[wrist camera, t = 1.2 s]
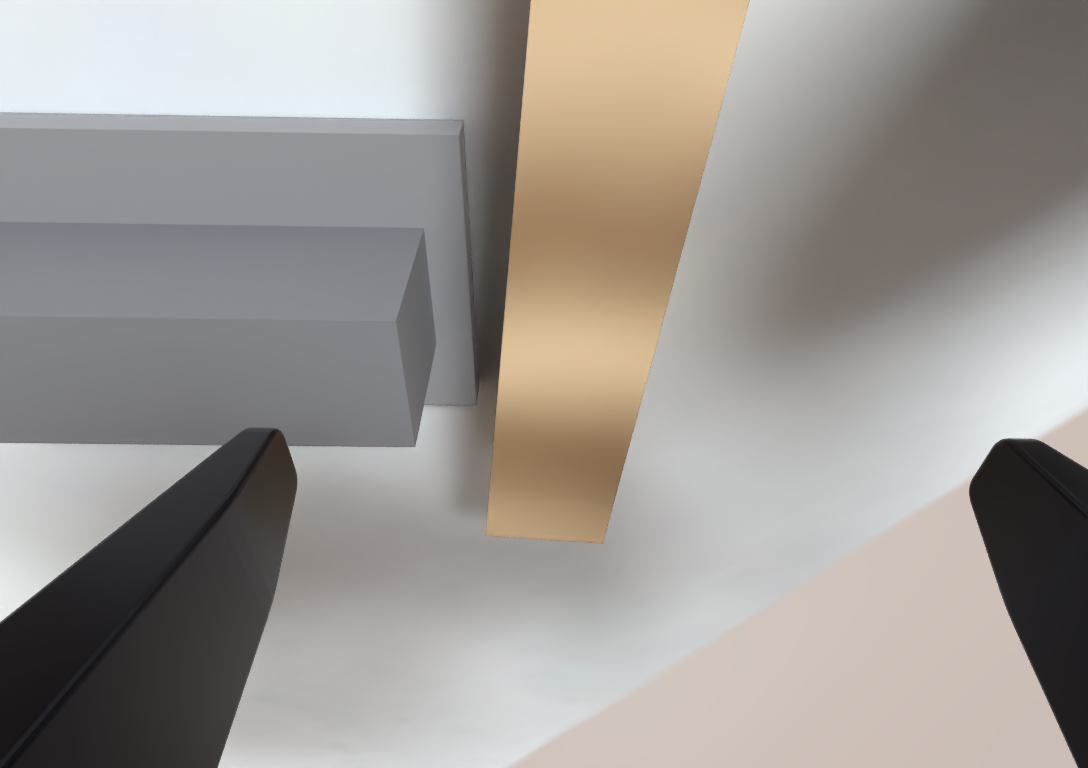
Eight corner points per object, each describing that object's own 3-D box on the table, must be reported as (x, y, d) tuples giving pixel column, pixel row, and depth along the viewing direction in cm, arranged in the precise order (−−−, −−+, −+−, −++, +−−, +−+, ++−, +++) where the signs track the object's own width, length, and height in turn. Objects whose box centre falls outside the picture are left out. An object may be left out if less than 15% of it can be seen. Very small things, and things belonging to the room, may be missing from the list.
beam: (573, -512, 10) (587, -669, 7) (800, -470, 10) (912, -603, 7) (493, 440, 23) (485, 535, 20) (594, 447, 23) (602, 543, 20)
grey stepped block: (462, 120, 15) (436, 215, 12) (479, 384, 21) (464, 510, 17) (-145, 110, 15) (-377, 203, 11) (24, 378, 20) (-97, 505, 16)
